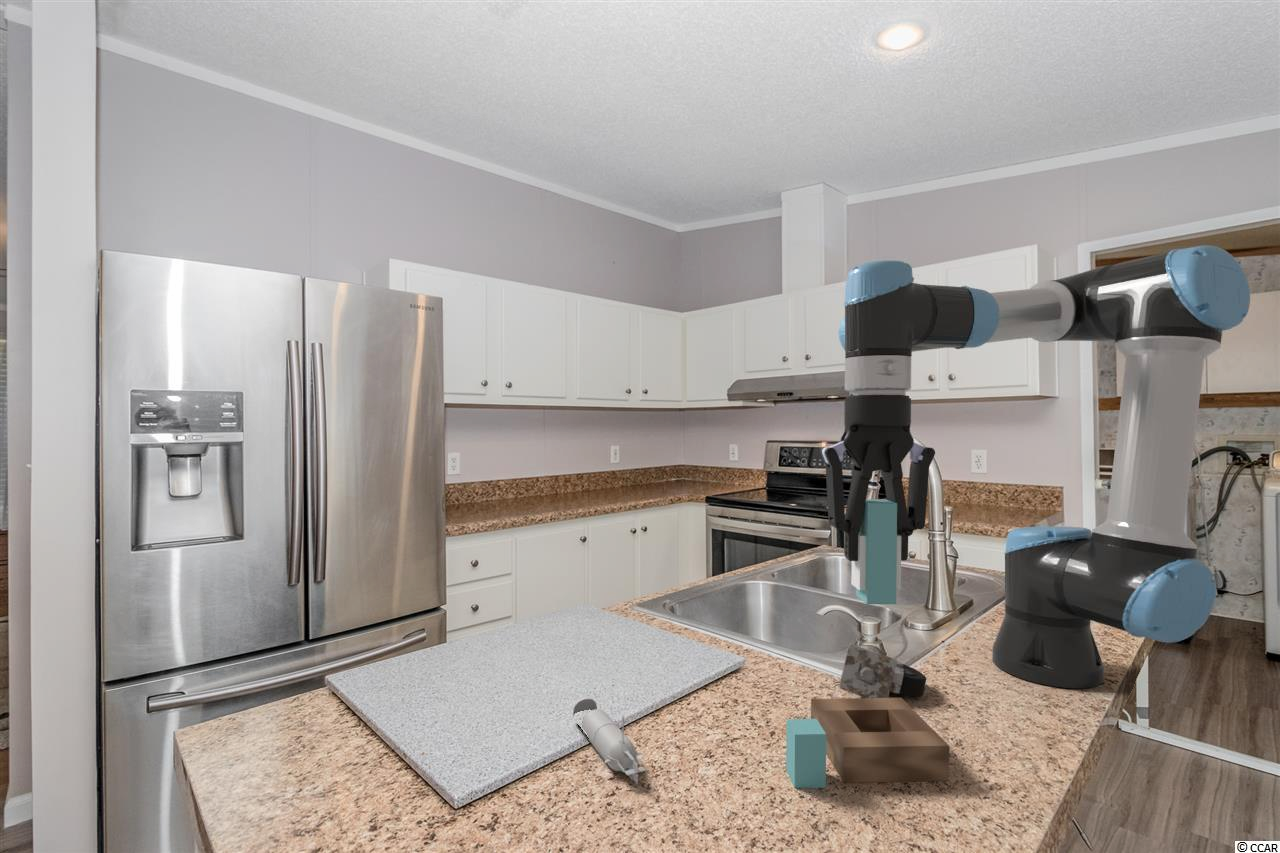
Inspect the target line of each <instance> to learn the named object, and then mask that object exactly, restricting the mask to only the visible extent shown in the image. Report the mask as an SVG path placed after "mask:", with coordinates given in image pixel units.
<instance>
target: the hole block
mask: <svg viewBox="0 0 1280 853" xmlns="http://www.w3.org/2000/svg"><path fill="white" fill-rule="evenodd" d="M810 719H817V721H818V722H819V724H820V725H821V727H822V728H823V730H824V731H825V733H826V757H827V758H828V760H829V761H830V763H831V765H832V766H833V768H834V770H835V772H836V773H837V774H838V776H839V778H840V779H841V781H842V782H843V783H845V784H848V783H849V784H852V783H894V782H895V783H896V782H900V783H901V782H946V781H949V778H950V777H949V774H950V773H949V772H950V771H949V770H950V766H949V764H950V745H949V744H948V743H947V742H946V741H945V740H944V739H943V738H942V737H941V735H939V734H938V733H937V732H936V731H935V730H934V729H933V727H931V726H930V725H929V724H928V723H927V721H925V719H923V718H922V717H921V716H920V715H919V714H918V712H916V711H915V710H914V708H912V707H911V706H910V705H909V704H908V703H907V702H906V700H905V699H903V697H888V698H864V697H862V698H861V697H860V698H857V697H856V698H855V697H853V698H851V697H850V698H811V699H810Z"/></svg>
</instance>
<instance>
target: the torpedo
mask: <svg viewBox="0 0 1280 853" xmlns="http://www.w3.org/2000/svg"><path fill="white" fill-rule="evenodd" d="M589 709H590V710H591V711H589V712H587V713H586V715H585V716H584V717H583V721H582V728H583V729H584V730H585V731H586V733H587V735H588V737H589V739H588V741H589V742H590V744H591V745H592V746H593V747H594V749H595V750H596V751H597V752H598V754H599V755H600V756H601V758H602V760H604V762H603V763H604V764H607V765H608V767H609V768H611V769H612V770H613V771H614V772H617V773H618V772H621V773H625V775H626V776H628V777H629V778H630V780H633V781H634V783H635V784H636V785H639V775H638V773H641V772H645V771H646V769H645V768H644V767H643V765H642V763H641V762H640V761H639V760H638V759H637V758H638V756H639V755H642V754H643V753H642V752H641V751H637V749H636V748H635V745H634V743H633V741H631V739H629V737H628V736H627V735H626V734H625V733H624V718H625V716H624V715H623V716H621V719H622V722H621V723H622V726H621V727H622V729H620V727H619V725H618V724H616V723H615V721H614V720H613V718H611V717H610V715H608V714H607V712H606V711H605V710H603V709H601V708H598V706H597V702H596V701H595V700H594V699H593V698H591V697H583V698H582V697H581V698H579V699H577V700H575V702H574V703H573V706H572V717H573V716H574V714H575V713H577V712H580V711H584V710H589Z"/></svg>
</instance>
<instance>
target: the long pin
mask: <svg viewBox="0 0 1280 853" xmlns="http://www.w3.org/2000/svg"><path fill="white" fill-rule="evenodd" d="M860 533H861V534H863V535H865V536H866V590H858V589H857V588H856V587H855V596H856V597H857V598H858V599H859V600H861V601H862V602H863V603H865V604H866V605H897V590H896V573H897V503H895V502H892V501H889V500H887V499H885V498H881V499H880V498H878V499H877V498H875V499H874V498H873V499H872V498H869V499H867V498H866V502H865V507H864V513H863V518H862V523H861V529H860Z"/></svg>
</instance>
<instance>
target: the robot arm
mask: <svg viewBox="0 0 1280 853" xmlns="http://www.w3.org/2000/svg"><path fill="white" fill-rule="evenodd" d="M914 280H915V278H914V276H913V268H912V266H911V265H910V264H909V263H907V262H904V261H901V260H879V261H869V262H866V263H865V262H863V263H862V264H859V265H856V266H854V267H852V269H850V271H849V272H848V273H847V276H846V284H845V291H844V292H845V294H844V297H845V298H844V301H843V306H844V316H843V318H842V320H840V321H841V322H840V324H839V327H838V338H839V342H840V345H841V346H842V349H844V351H845V358H844V390H845V391H846V392H849V395H847V396H846V397H845V398H844V413H843V414H844V431H843V434H842V436H841V437H840V441H838V442H837V443H835V444H832V445H831V446H822V447H821V448H820V450H819V455H820V456H821V458H822V462H823V463H824V466H825V478H826V480H825V482H826V497H827V498H826V499H827V516H828V524H829V526H832V527H833V528H835V529H837V530H839V531H842V533H843V536H844V537H843V538H844V547H843V548H844V552H843V555H844V558H845V559H846V560H848V561H850V562H851V575H850V576H851V578H850V579H851V585H852V586H853V587H854V588H855V589H856V588H857V589H858V590H866V536H865V535H863V534H861V533H860V529H861V523H862V518H863V513H864V507H865V502H866V499H867V495H868V489H869V484H870V481H871V479H872V477H873V473H874V472H877V471H880V474H881V477H882V478H883V483H884V484H883V485H884V489H885V495H886V500H889V501H892V502H895V503H897V573H896V591H901V590H902V561H903V562H904V561H908V558H909V537H910V536H912V535H913V534H914V531H917V530H922V529H924V528H925V527H926V517H927V515H926V514H927V505H928V504H927V501H928V490H929V489H928V488H929V475H930V474H929V473H930V466H931V464H932V462H933V461H934V458H935V456H936V450H935V449H934V447H929V446H923V445H921V444H918V443H916V442H915V441H914V438H913V435H912V433H911V423H912V398H910V395H907V394H906V392H907V391H909V390H911V389H912V356H913V355H912V353H913V352H921V351H927V350H937V349H939V350H940V349H945V348H946V349H947V348H951V349H952V348H953V349H955V350H962V349H967V348H970V349H974V348H979V347H981V346H983V345H984V344H987V343H988V344H989V343H996V342H1003V341H1005V342H1006V341H1013V340H1020V339H1023V340H1024V339H1029V338H1031V339H1032V340H1034V341H1037V342H1041V343H1051V342H1061V341H1063V342H1064V341H1068V342H1069V341H1070V342H1071V341H1078V342H1080V341H1081V342H1082V341H1083V342H1084V341H1087V342H1105V341H1107V342H1109V341H1114V348H1116V350H1118V351H1119V353H1120V354H1122V356H1124V358H1125V363H1124V371H1123V380H1122V388H1121V397H1120V398H1121V399H1120V406H1119V413H1118V422H1117V430H1116V437H1115V438H1116V439H1115V447H1114V455H1113V464H1112V471H1111V472H1112V473H1111V480H1110V488H1109V496H1108V505H1107V513H1106V519H1105V520H1104V522H1103V523H1101V524H1100V525H1098V526H1095V527H1094V528H1093V529H1092V530H1091V529H1089V528H1087V527H1080V526H1025V527H1016V528H1013V529H1011V530H1010V531H1009V532H1008V533H1007V536H1006V542H1005V543H1006V545H1005V551H1004V590H1005V591H1004V592H1005V593H1004V601H1005V602H1004V603H1005V605H1004V617H1003V620H1002V621H1001V622H1002V623H1001V625H1000V627H999V630H998V633H997V635H996V638H995V641H994V642H993V644H992V659H991V660H992V662H993V664H994V666H996V667H997V668H998V669H1000V670H1002V671H1003V672H1006V673H1008V674H1010V675H1011V676H1015V677H1016V678H1020V679H1022V680H1025V681H1028V682H1031V683H1032V682H1033V683H1037V684H1040V685H1044V686H1049V687H1057V688H1066V689H1067V688H1068V689H1088V688H1094V686H1095V687H1097V686H1100V685H1102V684H1103V682H1104V676H1105V674H1104V671H1105V670H1104V668H1105V667H1104V663H1103V660H1102V657H1101V655H1100V652H1099V649H1098V646H1097V643H1096V640H1095V638H1094V635H1093V632H1092V629H1091V628H1092V627H1091V622H1095V623H1098V624H1102V625H1105V626H1108V627H1111V628H1114V629H1117V630H1120V631H1124V632H1126V633H1127V634H1130V635H1131V636H1134V637H1137V638H1145V639H1149V640H1152V641H1157V642H1160V643H1171V644H1172V643H1178V642H1181V641H1183V640H1185V639H1188V638H1190V637H1192V636H1193V635H1195V633H1196V632H1198V630H1199V629H1201V628H1202V626H1204V624H1205V623H1206V621H1207V620H1208V618H1209V616H1210V615H1211V613H1212V610H1213V607H1214V605H1215V602H1216V598H1217V596H1216V595H1217V583H1216V580H1214V579H1213V578H1214V574H1213V572H1212V570H1211V569H1210V568H1209V566H1208V565H1205V564H1204V563H1202V562H1201V561H1200V560H1197V551H1198V550H1197V549H1198V545H1197V544H1196V543H1195V542H1194V541H1192V539H1191V538H1189V537H1188V536H1187V534H1186V532H1185V525H1186V517H1187V511H1188V510H1187V507H1188V499H1189V490H1190V483H1191V474H1192V466H1193V457H1194V449H1195V441H1196V434H1197V423H1198V415H1199V405H1200V399H1201V398H1200V397H1201V392H1202V391H1201V390H1202V381H1203V374H1204V373H1203V372H1204V366H1205V365H1204V364H1205V359H1206V358H1208V357H1209V356H1210V355H1212V354H1213V353H1214V352H1216V351H1217V350H1219V349H1220V348H1221V346H1222V338H1223V331H1228V330H1231V329H1233V328H1235V327H1237V326H1239V325H1240V324H1241V323H1242V322H1244V318H1246V316H1247V315H1248V312H1249V309H1250V305H1251V292H1250V291H1251V290H1250V287H1249V282H1248V278H1247V276H1246V274H1245V271H1244V269H1243V268H1242V266H1241V265H1240V262H1238V260H1237V259H1236V257H1234V256H1233V255H1232V254H1231V253H1229V252H1228V251H1227V250H1225V249H1223V248H1221V247H1219V246H1215V245H1205V244H1204V245H1198V246H1192V247H1187V248H1175V249H1172V250H1170V251H1166V252H1162V253H1158V254H1154V255H1148V256H1145V257H1140V258H1135V259H1131V260H1126V261H1122V262H1119V263H1114V264H1112V263H1111V264H1108V265H1104V266H1100V267H1098V268H1097V267H1096V268H1094V269H1093V268H1092V269H1090V270H1087V271H1083V272H1080V273H1077V274H1073V275H1071V276H1070V275H1069V276H1065V277H1063V278H1057V279H1054V280H1053V279H1052V280H1045V281H1044V280H1043V281H1040V282H1037V283H1035V284H1034V285H1032V286H1031V287H1030V288H1028V289H1027V288H1026V289H1017V290H1009V291H997V292H989V291H987V290H984V289H980V288H975V287H974V288H973V287H970V286H967V285H963V286H952V285H951V286H950V285H937V284H936V285H934V284H921V283H917V282H914ZM844 453H846V454H847V456H848V457H849V459H850V461H851V462H852V467H851V471H850V472H851V481H850V488H849V493H848V496H847V502H846V507H845V496H844V495H845V492H844V476H843V473H844V472H843V465H842V462H843V460H844V458H845V457H844ZM908 454H909V460H910V465H909V472H908V474H909V475H908V487H907V488H908V489H907V500H906V496H905V490H904V484H903V477H904V473H903V468H902V467H903V466H902V462H903V461H904V460H905V458H906V457H907V455H908Z"/></svg>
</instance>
